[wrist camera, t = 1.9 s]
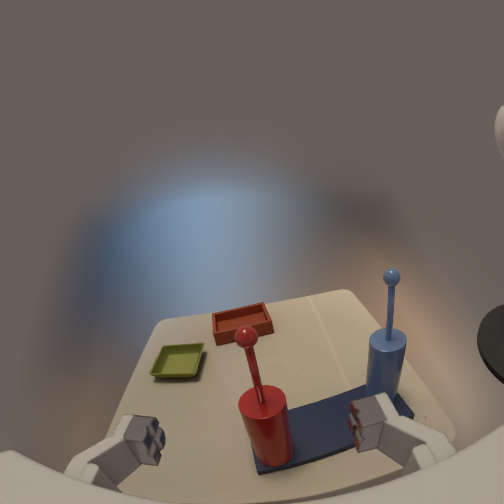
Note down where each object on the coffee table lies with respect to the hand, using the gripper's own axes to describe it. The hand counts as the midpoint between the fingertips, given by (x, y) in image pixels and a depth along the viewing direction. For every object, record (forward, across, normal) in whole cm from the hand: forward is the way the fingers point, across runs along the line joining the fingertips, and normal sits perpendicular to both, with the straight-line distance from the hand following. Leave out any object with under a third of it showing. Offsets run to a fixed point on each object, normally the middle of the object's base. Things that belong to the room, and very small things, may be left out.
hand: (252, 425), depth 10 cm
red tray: (+43, +5, +18) cm, 47 cm away
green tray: (+32, +16, +19) cm, 41 cm away
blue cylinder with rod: (+18, -14, +18) cm, 29 cm away
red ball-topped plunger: (+12, 0, +19) cm, 23 cm away
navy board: (+16, -7, +20) cm, 26 cm away
